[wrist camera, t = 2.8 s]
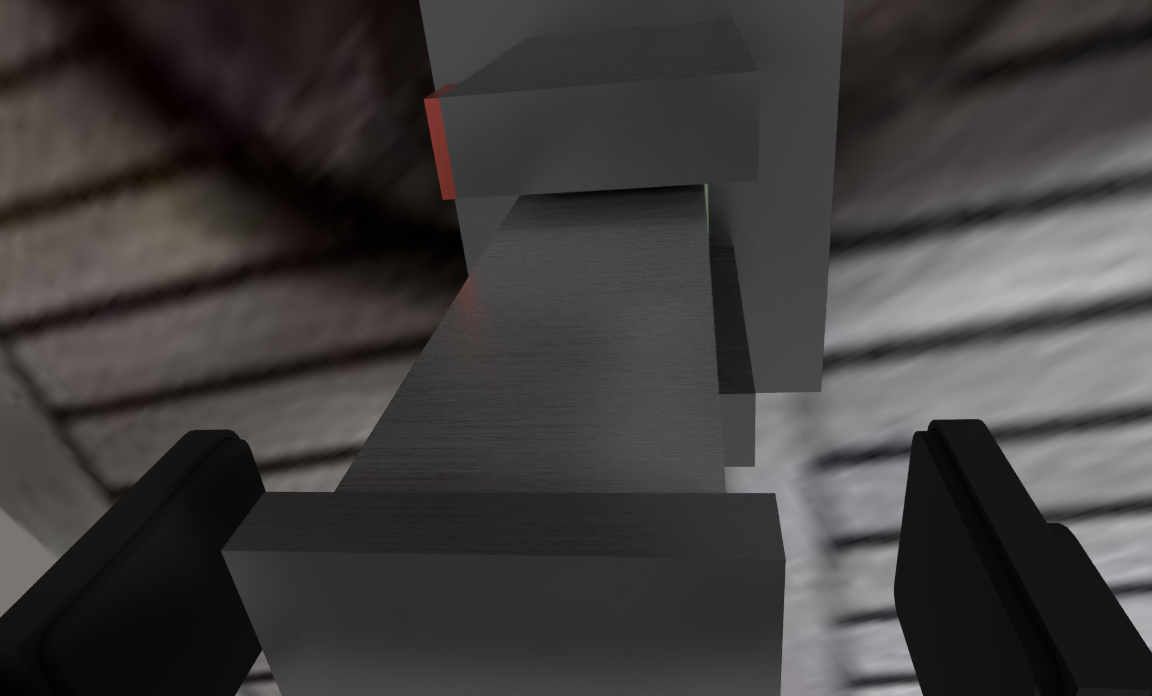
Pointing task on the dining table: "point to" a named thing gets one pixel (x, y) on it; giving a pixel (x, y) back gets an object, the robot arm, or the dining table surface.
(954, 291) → the dining table surface
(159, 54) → the dining table surface
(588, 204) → the column
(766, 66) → the base
